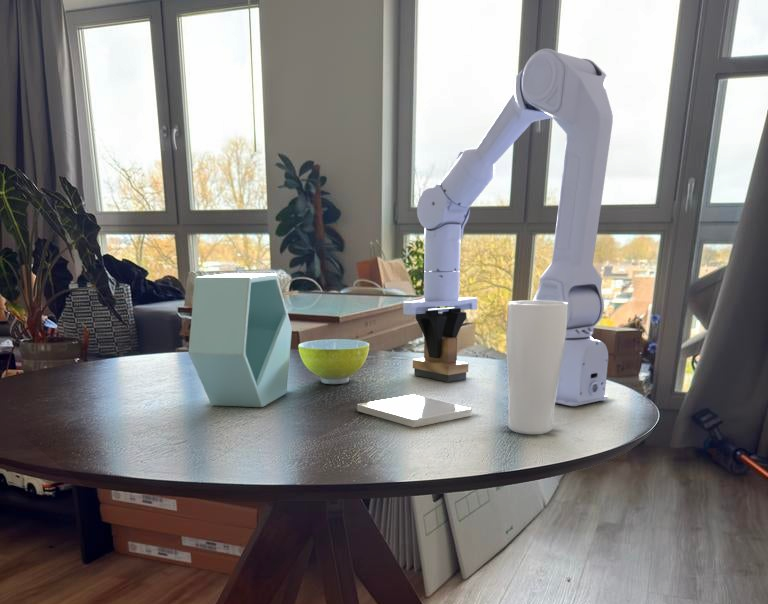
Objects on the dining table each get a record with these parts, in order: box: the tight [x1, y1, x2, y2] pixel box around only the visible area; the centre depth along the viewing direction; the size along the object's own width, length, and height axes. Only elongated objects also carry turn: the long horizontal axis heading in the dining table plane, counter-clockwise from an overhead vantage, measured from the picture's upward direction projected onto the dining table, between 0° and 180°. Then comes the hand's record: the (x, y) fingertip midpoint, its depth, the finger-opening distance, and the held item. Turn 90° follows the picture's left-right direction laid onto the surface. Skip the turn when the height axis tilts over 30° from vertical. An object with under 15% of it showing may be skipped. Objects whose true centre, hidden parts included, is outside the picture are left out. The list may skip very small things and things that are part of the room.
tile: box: [356, 394, 473, 428], centre depth 97 cm, size 12×10×1 cm
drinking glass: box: [505, 299, 568, 435], centre depth 85 cm, size 7×7×15 cm
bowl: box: [298, 338, 370, 385], centre depth 118 cm, size 11×12×6 cm
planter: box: [188, 273, 293, 408], centre depth 102 cm, size 17×8×21 cm
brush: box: [412, 336, 469, 383], centre depth 121 cm, size 9×4×7 cm, turn 38°
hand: (440, 356), depth 121 cm, fingers closed on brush, 2 cm apart
